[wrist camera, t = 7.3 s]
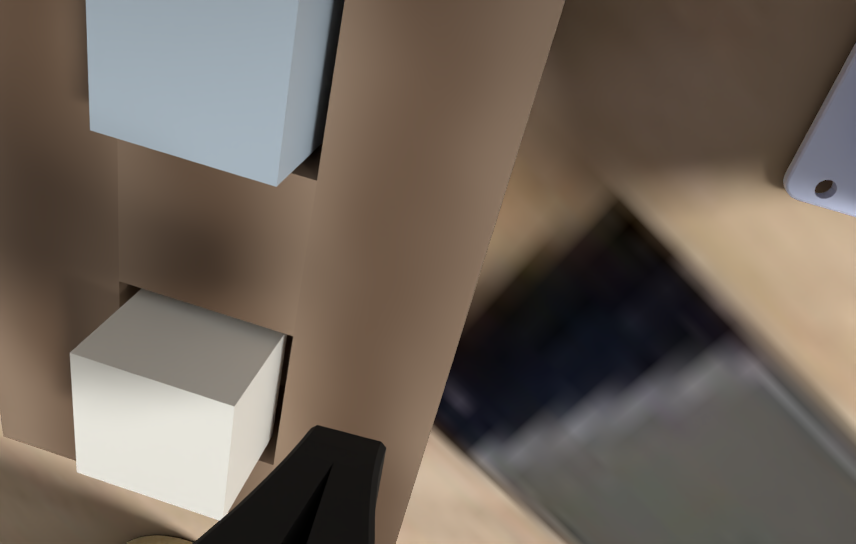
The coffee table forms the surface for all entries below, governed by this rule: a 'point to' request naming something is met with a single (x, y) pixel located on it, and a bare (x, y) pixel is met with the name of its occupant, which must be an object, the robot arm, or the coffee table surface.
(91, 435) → the ivory key
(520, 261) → the coffee table surface
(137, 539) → the plant pot
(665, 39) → the coffee table surface
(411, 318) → the board
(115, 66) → the slate key
